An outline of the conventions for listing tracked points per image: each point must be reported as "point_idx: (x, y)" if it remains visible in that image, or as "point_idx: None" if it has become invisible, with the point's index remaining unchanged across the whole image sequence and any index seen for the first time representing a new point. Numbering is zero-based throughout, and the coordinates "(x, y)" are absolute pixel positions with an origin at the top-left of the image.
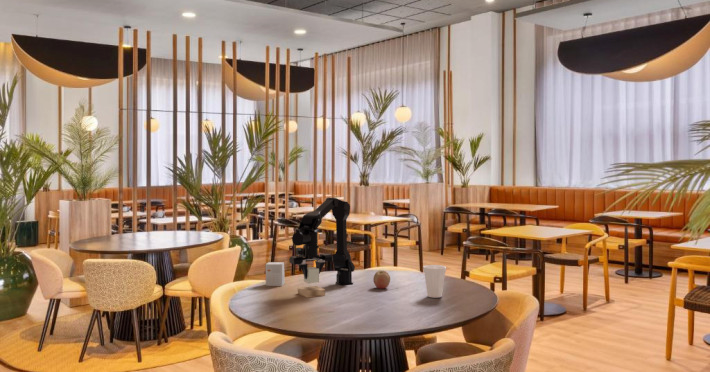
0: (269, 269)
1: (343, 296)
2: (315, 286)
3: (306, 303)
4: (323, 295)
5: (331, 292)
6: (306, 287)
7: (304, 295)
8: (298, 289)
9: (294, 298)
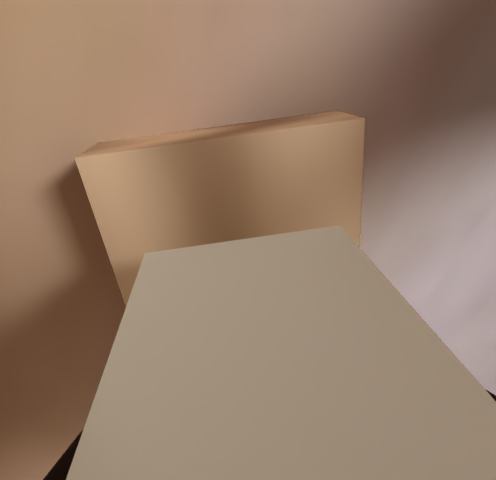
0: None
1: None
2: (340, 152)
3: None
4: None
5: (444, 215)
6: (204, 172)
7: None
8: (87, 176)
9: (41, 329)
